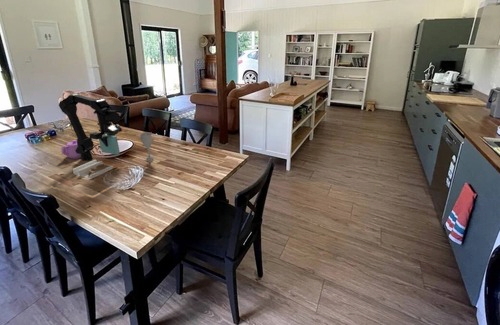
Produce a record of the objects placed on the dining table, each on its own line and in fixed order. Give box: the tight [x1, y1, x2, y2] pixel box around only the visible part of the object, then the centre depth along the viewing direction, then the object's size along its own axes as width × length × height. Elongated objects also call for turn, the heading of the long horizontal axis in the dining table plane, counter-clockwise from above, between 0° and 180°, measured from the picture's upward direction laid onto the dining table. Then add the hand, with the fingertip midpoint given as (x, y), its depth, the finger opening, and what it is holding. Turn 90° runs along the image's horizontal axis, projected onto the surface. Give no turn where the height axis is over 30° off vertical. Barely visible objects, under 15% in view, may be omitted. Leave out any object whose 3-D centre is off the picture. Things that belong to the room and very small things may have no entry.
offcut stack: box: [88, 164, 108, 176], centre depth 158 cm, size 5×10×4 cm, turn 157°
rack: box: [72, 159, 114, 180], centre depth 159 cm, size 14×15×4 cm
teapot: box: [60, 139, 81, 160], centre depth 184 cm, size 13×20×11 cm
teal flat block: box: [98, 134, 121, 156], centre depth 167 cm, size 3×12×11 cm, turn 67°
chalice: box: [139, 131, 155, 163], centre depth 174 cm, size 7×7×18 cm
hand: (109, 145), depth 167 cm, fingers closed on teal flat block, 3 cm apart
